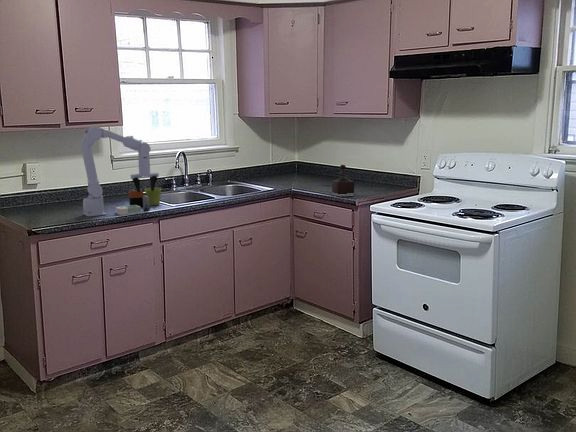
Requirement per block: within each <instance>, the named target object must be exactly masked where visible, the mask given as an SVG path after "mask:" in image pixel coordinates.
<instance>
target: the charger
mask: <svg viewBox="0 0 576 432" xmlns="http://www.w3.org/2000/svg"><path fill="white" fill-rule="evenodd" d="M114 213H115V214H117V215H119V216H125V215H126V216H127V215H136V214H143V210H142V209H141V207H140V206H137V205H130V204H129V205H123V206H115V211H114Z"/></svg>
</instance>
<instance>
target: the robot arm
mask: <svg viewBox="0 0 576 432" xmlns="http://www.w3.org/2000/svg"><path fill="white" fill-rule="evenodd" d="M102 138H103V139H108V138H109V139H111V140H114V141H116V142H120V143H122V144H123V147H124V148H125V147H126V148H127V149H131V150H133V151H137V152H138V153H137V155H138V156H137V157H138V158H137V159H138V173H133V174H130V179H132V182H133V183H134V186H135V188H136V189H135V190H137V192H140V189H141V187H140V184H141V179H144V178H149V181H150V188H151V191H154V188H156V187H155V186H156V183H157V181H158V178H159V175H160V174H159V172H151V157H150V152H151V148H152V147H150V144H149V143H147V142H145V141H143V140H142V139H137V138H135V137H134V136H133V135H130V136H129V135H127V136H123V135H121V134H118V133H116V132H113V131H112V130H109V129H106V128H101V127H98V126H89V127H88V128H87V129H86V130H85V131H84V133H83V137H82V139H81V141H80V149H81V153H82V158H83V159H82V160H83V163H84V167H85V173H86V177H87V187H86V189H87V193H88V195H87V197H84V198H83V200H82V206H83V207H82V209H83V215H85V216H86V217H96V216H105V215H107V213H106V212H105V210H104V209H105V208H104V195H103V188H102V186H101V184H100V181H99V178H98V174H97V170H96V163H95V158H94V155H93V150H92V149H93V148H92V146H93V145H94V144H95V143H96V142H98V141H99V140H100V139H102Z"/></svg>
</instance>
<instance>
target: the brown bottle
mask: <svg viewBox="0 0 576 432" xmlns="http://www.w3.org/2000/svg"><path fill="white" fill-rule="evenodd" d="M339 169H340V172H338V174H342V176H341V177H339V178H337V179H333V180H331V193H332V192H334V193H338V194H347V193H354V194H355V181H354V180H351V179H349V177H345V172H346V170H345V169H346V165H345V164H340V166H339Z"/></svg>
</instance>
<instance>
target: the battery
mask: <svg viewBox="0 0 576 432" xmlns="http://www.w3.org/2000/svg"><path fill="white" fill-rule="evenodd" d="M128 197H129V198H128V199H129V200H128V201H129V202H128V203H129V206H130V205H137V206H140V207H141V208H142V209H143V197H144V190H142V189H141V188H140V192H137V189H135V188H132V189H130V190H129V191H128Z"/></svg>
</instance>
